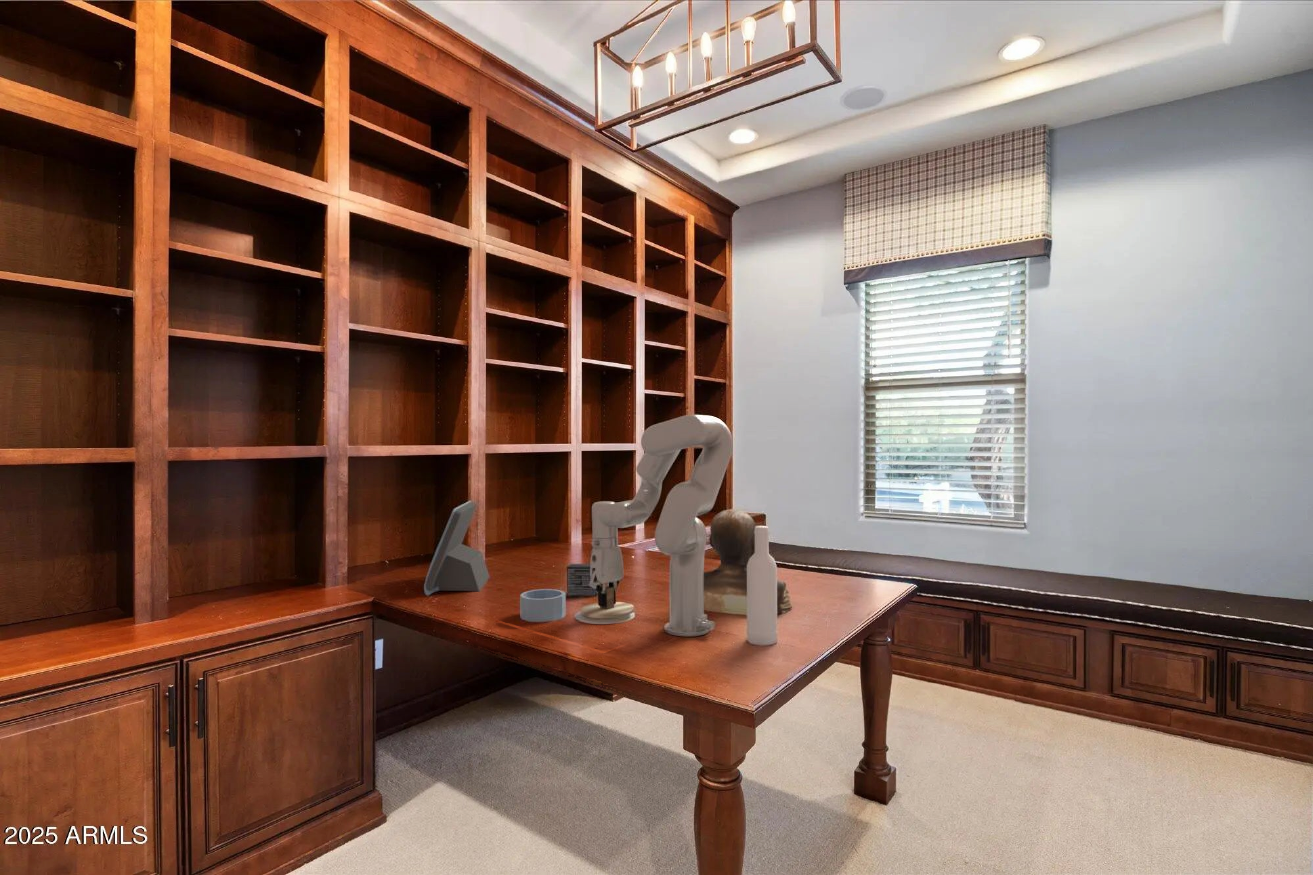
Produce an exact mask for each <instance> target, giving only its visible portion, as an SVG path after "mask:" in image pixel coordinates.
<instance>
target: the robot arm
mask: <svg viewBox="0 0 1313 875" xmlns="http://www.w3.org/2000/svg"><path fill="white" fill-rule="evenodd" d="M640 444H641V447H642V450H643V451H644V453H643V455H642V457H641V459H640V460H639V461H638V464H637V465H636V473H637V475H638V476H639V477H640V479H641V483H640V486H639V488H638V491H637V492H636V494H635V496H634V497H633V499H630V500H624V501H620V502H615V501H609V500H608V501H607V500H606V501H605V500H603V501H597V502H594V503H593V504H592V506H591V522H592V523H591V524H592V526H591V527H592V541H591V542H590V544H591V546H592V549H591V553H590V554H591V555H590V562H589V564H590V578H591V580H590V584H589V586H590V587H593V588H594V589H595V590H596V592H597V593H598V596H597V603H598V605H599V606H602V607H607V593H605V587H606V584H607V587H614V604H616V602H617V598H616V597H617V594H616V591H617V590H618V586H619V584H620V583H621V581H622V580H623V579H624V561H623V554H622V550H621V547H620V546H619V535H618V534H619V532H618V528H619V529H624V528H629V527H633V526H638V525H641V524H643V523H644V522H646V521H647V520H648V518H649V517H650V516H651V515H652V513H653V511H654V510H655V508H656V506H657V504H658V502H659V500H660V498H661V494H662V487H663V481H664V479H665V478H666V476H667V474H668V472H669V470H670V469H671V467H672V466H673V463H675V461H676V459H677V457H678V456H679V454H680V452H681V450H684V449H688V448H693V447H702V450H701V452H700V454H699V456H698V458H697V459H696V461H695V463H694V466H693V469H692V472H691V474H690V477H689V479H688V480H687V481H683V482H680V483H678V484H676V485H674V486H673V488H671V490H670V491H669V493H668V494H667V496H666V499H665V502H664V504H663V507H662V510H661V513H660V516H659V518H658V522H657V524H656V526H655V527H656V528H655V530H654V542H655V545H656V547H657V549H658V550H659V552H661V553H662V554H664V555H666V556H670V561H669V622H666V623H665V624H664V626H663V627H664V632H665V633H667V634H668V635H672V636H676V637H677V636H678V637H699V636H703V635H706V634H708V633H709V632H710V631H713V630H714V627H715V625H716V623H715V621H714V620H713V621H712V620H708V614H706V613H705V610H704V572H705V556H706V555H705V554H706V553H705V552H706V545H707V539H708V538H707V529H706V526H705V524H704V523H703V521H702V520H701V519H699V518H698V517H699V516H703V515H705V514H708V513H709V512H710V511H712V509H713V508H714V505H715V503H716V500H717V496H718V494H719V493H720V492H719V490H720V488H721V486H722V483H723V480H724V478H725V474H726V470H727V469H728V466H729V463H730V461H731V458H732V455H733V449H734V441H733V435H732V433H731V431H730V429H729V427H728V426H727V425H726V423H725V422H724V421H722V420H721V419H720V418H717V417H715V416H712V415H707V414H706V415H705V414H686V415H682V416H679V417H676V418H672V419H669V420H665V421H663V422H662V421H661V422H658V423H656V424H653V425H651V426H649V427H648V428H646V429H645V430H644V432H643V433H642V434H641V439H640Z"/></svg>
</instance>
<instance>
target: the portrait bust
mask: <svg viewBox="0 0 1313 875" xmlns="http://www.w3.org/2000/svg"><path fill="white" fill-rule="evenodd" d="M756 526H757V525H756V522H755V521H754V519H753V518H752V516H750V515H749V514H748V513H747V512H745V511H743V510H739V509H735V508H731V509H730V508H729V509H726V510H725V509H724V510H722V511H720V512H719V513H717V514H716V515H714V517H713V519H712V520H711V522H710V529H709V531H710V535H709V545H710V547H711V548H712V549H713V550H714V551H716V553H717V554H718V556H719V558H720V559H719V560H720V565H718V567H717V568H715V569H713V570H710V571H704V611H707V612H713V613H714V612H715V613H724V614H732V615H744V616H747V564H748V561H749V558H750V557H751V556H752V555H753V554H754V553H755V534H754V531H755V527H756ZM791 608H792V609H793V603H792V600H791V596H790V593H789V591H788V586H787V583H786V582H785V581H778V580H777V614H778V615H782V613H783V614H785V613H784V612H786V613H788V612H789V611H791V610H792V609H791ZM790 609H791V610H790ZM788 610H789V611H788ZM787 611H788V612H787Z"/></svg>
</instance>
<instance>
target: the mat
mask: <svg viewBox="0 0 1313 875" xmlns="http://www.w3.org/2000/svg"><path fill="white" fill-rule="evenodd" d="M635 616H636V613H635V611H634V612H633V613H631V614H629V615H626V616H622V617H615V618H589V617H585V616H582V615H581V614H580V611H578V612H577V613H575V614H574V619H576V620H577V621H578V622H581V623H585V624H592V625H609V624H610V625H611V624H612V625H613V624H620V623H623V622H624V623H625V622H628V621H631V620H632V619H634V618H635Z"/></svg>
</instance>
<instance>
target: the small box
mask: <svg viewBox="0 0 1313 875" xmlns="http://www.w3.org/2000/svg"><path fill="white" fill-rule="evenodd" d="M590 580H591V578H590V563H570V564H568V565H567V566H566V598H580V597H598V593H597V592H596V590H595V589H594V588H593V587H590V586H589V584H590Z"/></svg>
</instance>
